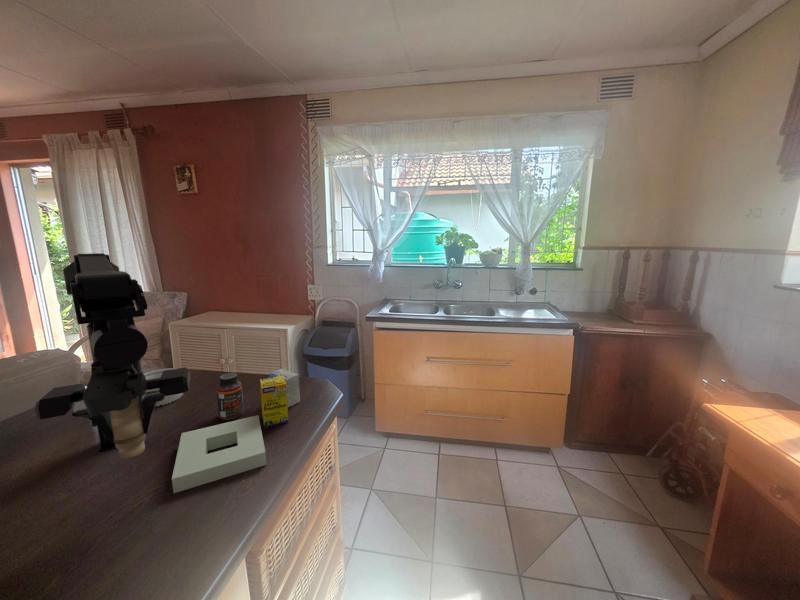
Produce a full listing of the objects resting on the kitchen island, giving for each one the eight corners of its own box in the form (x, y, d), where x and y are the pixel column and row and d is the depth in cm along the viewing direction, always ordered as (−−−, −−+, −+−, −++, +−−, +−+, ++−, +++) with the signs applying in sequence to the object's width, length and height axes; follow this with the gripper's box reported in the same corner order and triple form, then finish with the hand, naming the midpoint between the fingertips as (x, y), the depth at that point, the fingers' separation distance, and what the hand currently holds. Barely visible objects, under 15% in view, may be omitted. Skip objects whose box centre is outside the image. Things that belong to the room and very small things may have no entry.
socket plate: (173, 493, 58) (171, 479, 58) (183, 445, 72) (181, 433, 71) (266, 464, 66) (265, 452, 65) (259, 425, 79) (258, 415, 79)
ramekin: (178, 384, 102) (175, 364, 101) (196, 396, 94) (193, 374, 93) (126, 401, 91) (122, 378, 90) (141, 415, 84) (137, 391, 83)
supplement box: (264, 428, 78) (260, 388, 76) (262, 417, 83) (259, 378, 81) (288, 422, 81) (286, 383, 79) (285, 411, 86) (283, 374, 84)
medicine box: (300, 401, 92) (299, 374, 90) (287, 408, 88) (286, 379, 86) (283, 394, 96) (281, 368, 94) (270, 400, 92) (268, 373, 91)
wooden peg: (113, 463, 52) (103, 407, 50) (120, 448, 55) (111, 396, 54) (145, 455, 54) (136, 401, 52) (150, 441, 57) (142, 391, 56)
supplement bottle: (225, 424, 80) (221, 382, 78) (214, 416, 84) (210, 376, 82) (248, 414, 85) (244, 375, 83) (237, 407, 88) (233, 369, 86)
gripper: (1, 380, 40) (27, 487, 43) (178, 356, 49) (190, 445, 52) (44, 353, 50) (63, 442, 52) (186, 337, 58) (195, 413, 61)
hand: (130, 436), depth 54 cm, fingers closed on wooden peg, 4 cm apart
